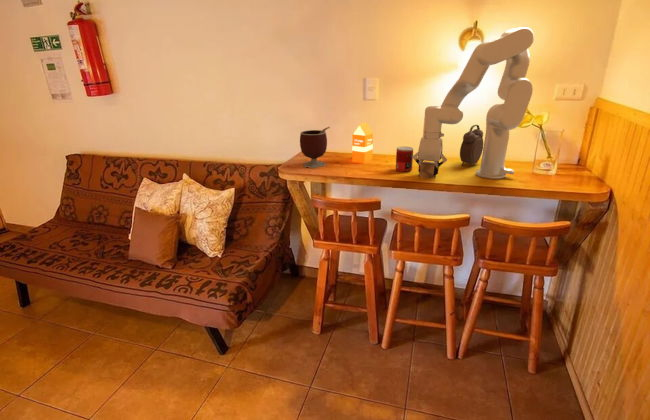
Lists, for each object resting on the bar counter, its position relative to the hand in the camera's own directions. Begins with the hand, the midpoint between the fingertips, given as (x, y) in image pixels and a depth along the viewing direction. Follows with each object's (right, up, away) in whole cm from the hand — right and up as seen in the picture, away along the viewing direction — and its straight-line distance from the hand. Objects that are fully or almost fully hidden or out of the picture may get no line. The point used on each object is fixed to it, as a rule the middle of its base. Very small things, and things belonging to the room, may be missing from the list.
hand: (427, 174), depth 162 cm
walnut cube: (0, -1, 0) cm, 1 cm away
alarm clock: (+26, +6, +16) cm, 31 cm away
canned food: (-9, +3, +10) cm, 14 cm away
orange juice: (-27, +10, +29) cm, 41 cm away
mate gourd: (-52, +7, +22) cm, 57 cm away
